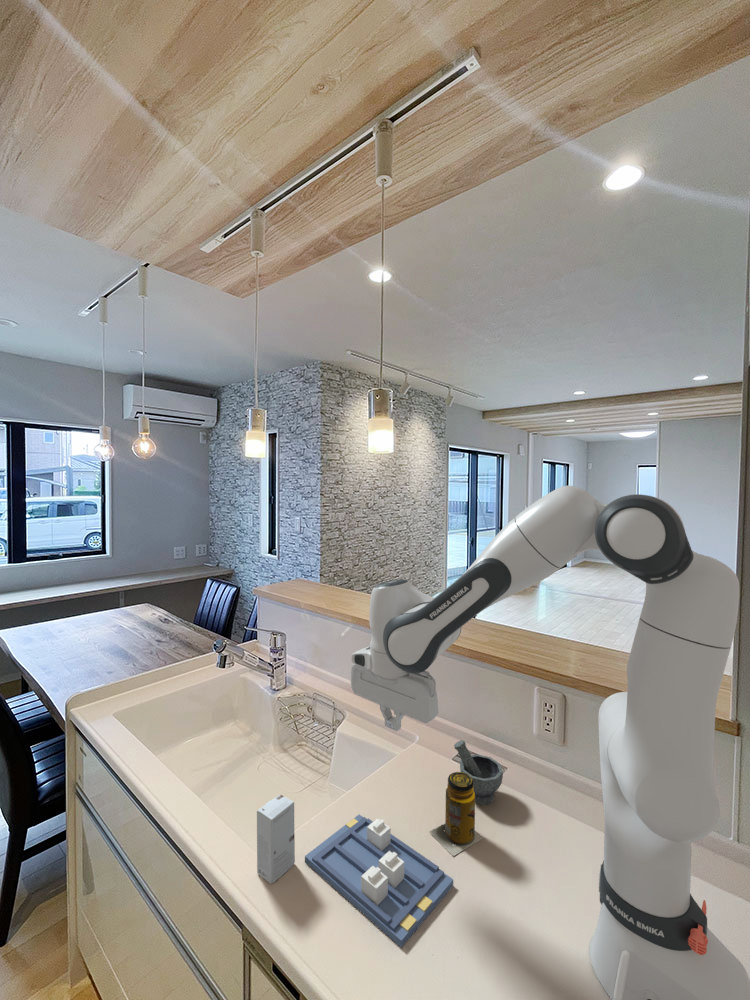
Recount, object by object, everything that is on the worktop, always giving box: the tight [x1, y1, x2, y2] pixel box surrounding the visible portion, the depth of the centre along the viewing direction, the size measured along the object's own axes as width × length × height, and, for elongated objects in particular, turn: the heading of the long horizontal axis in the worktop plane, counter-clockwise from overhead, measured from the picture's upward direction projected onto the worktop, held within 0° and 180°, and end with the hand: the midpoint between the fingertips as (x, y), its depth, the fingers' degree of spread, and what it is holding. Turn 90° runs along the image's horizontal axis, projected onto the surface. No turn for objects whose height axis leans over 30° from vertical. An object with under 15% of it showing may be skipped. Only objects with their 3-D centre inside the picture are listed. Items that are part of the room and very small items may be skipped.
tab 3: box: [379, 851, 404, 888], centre depth 83 cm, size 4×3×4 cm
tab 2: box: [361, 866, 388, 906], centre depth 80 cm, size 4×3×4 cm
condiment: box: [429, 771, 485, 857], centre depth 95 cm, size 7×8×12 cm
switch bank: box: [304, 813, 454, 948], centre depth 86 cm, size 24×15×2 cm, turn 48°
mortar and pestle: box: [453, 739, 504, 806], centre depth 107 cm, size 11×9×12 cm
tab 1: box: [367, 818, 392, 851], centre depth 91 cm, size 4×3×4 cm
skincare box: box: [256, 794, 296, 885], centre depth 87 cm, size 6×4×12 cm
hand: (392, 727), depth 92 cm, fingers closed
